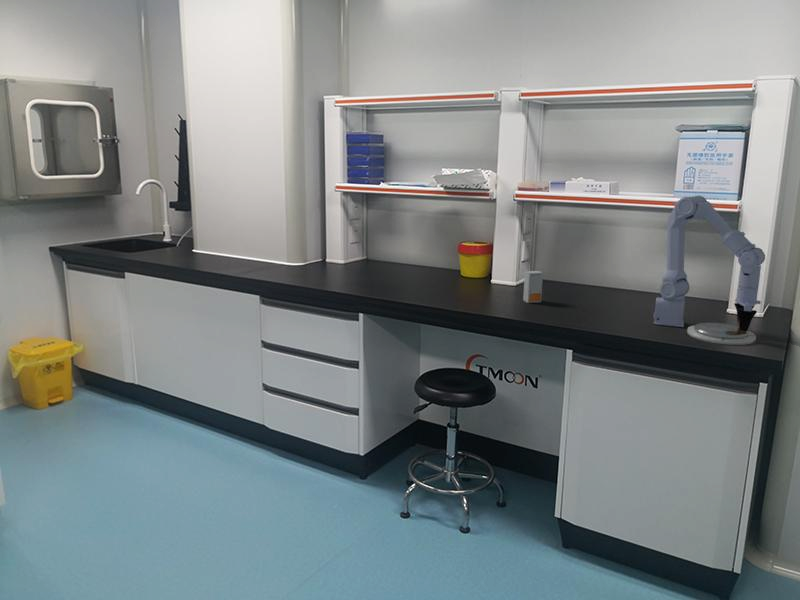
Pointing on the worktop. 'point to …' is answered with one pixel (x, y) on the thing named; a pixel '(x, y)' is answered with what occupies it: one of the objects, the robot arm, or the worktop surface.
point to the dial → (721, 330)
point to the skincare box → (533, 286)
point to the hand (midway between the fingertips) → (742, 328)
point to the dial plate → (725, 341)
